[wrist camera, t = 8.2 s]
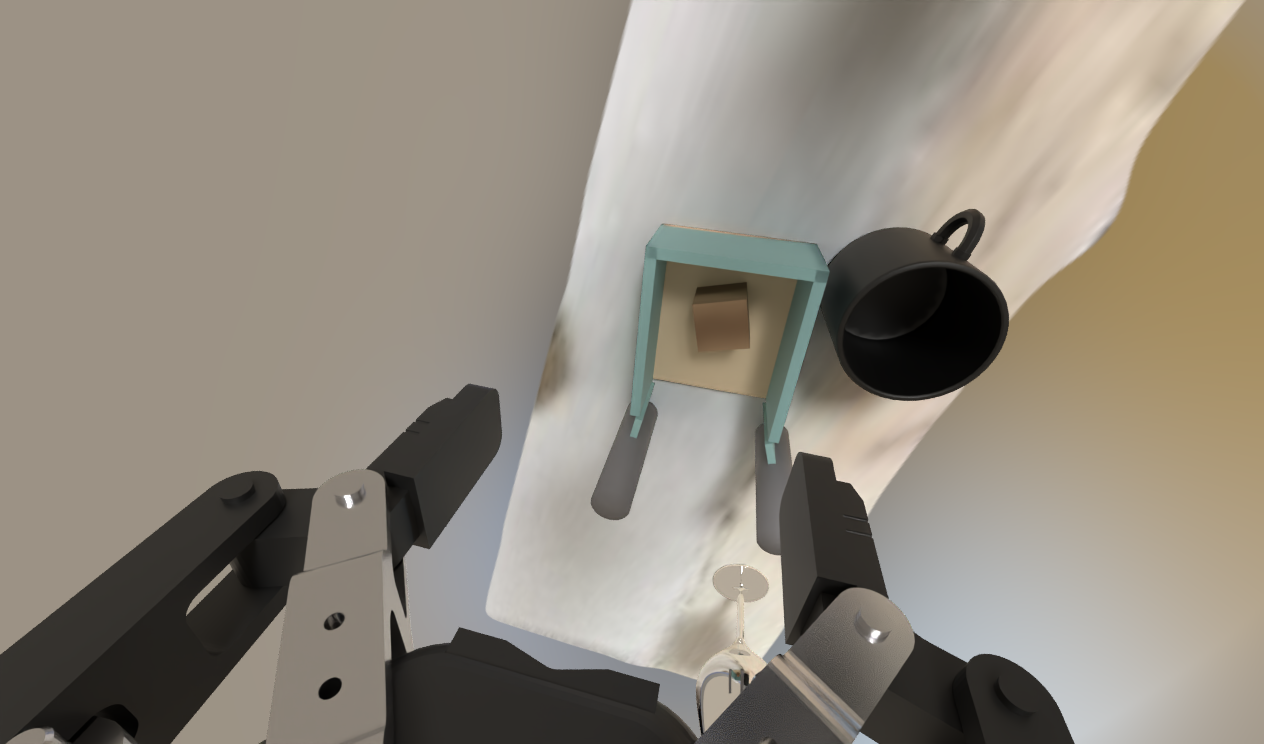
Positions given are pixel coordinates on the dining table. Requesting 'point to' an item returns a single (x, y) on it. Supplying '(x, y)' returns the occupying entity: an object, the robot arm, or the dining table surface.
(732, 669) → the wineglass
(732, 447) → the dining table surface
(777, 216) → the dining table surface
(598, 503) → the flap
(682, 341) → the teal open box
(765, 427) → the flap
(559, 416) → the dining table surface
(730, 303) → the walnut block
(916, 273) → the mug
